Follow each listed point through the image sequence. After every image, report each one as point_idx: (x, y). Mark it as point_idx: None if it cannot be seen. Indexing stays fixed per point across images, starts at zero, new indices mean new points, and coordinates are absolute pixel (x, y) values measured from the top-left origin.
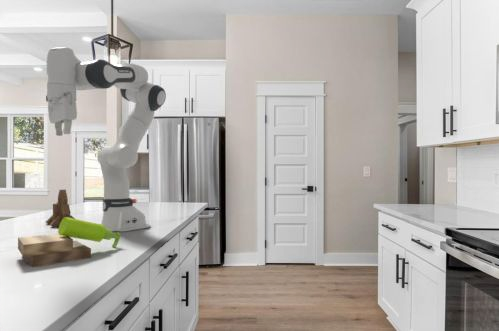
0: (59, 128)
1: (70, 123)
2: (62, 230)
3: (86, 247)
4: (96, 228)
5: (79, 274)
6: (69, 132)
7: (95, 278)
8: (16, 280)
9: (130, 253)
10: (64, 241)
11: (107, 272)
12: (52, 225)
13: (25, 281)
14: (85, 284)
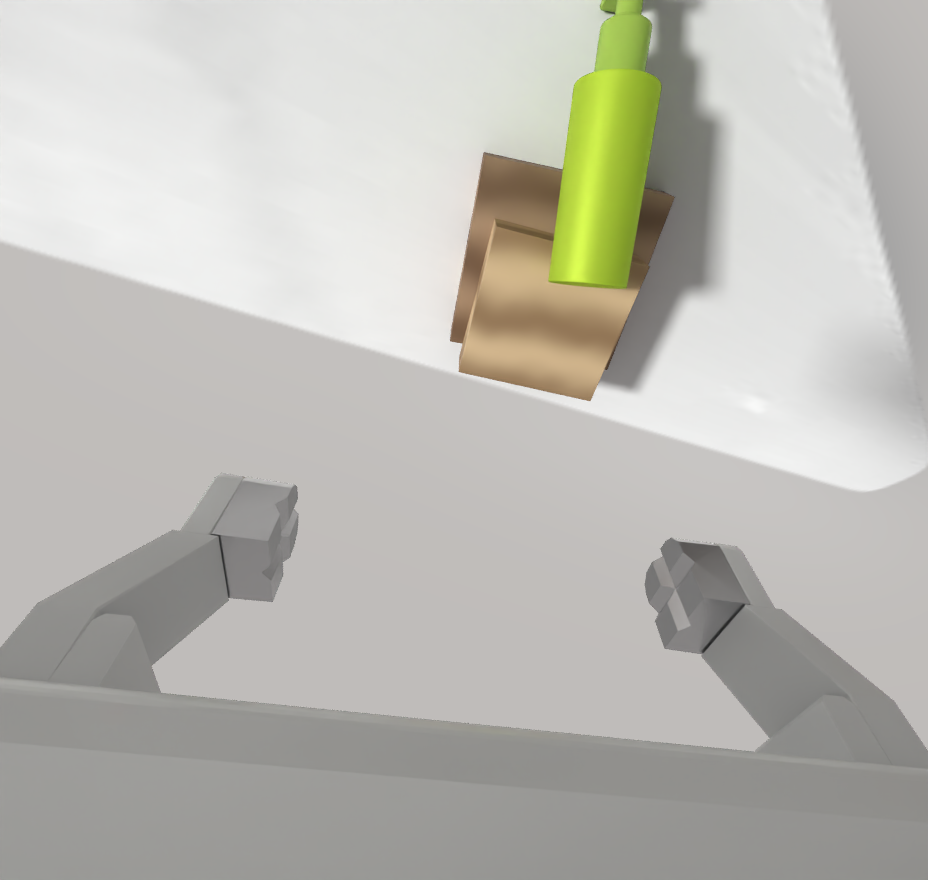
0: (176, 597)
1: (874, 709)
2: (589, 284)
3: (643, 198)
4: (651, 140)
5: (783, 314)
6: (736, 565)
7: (853, 305)
8: (675, 417)
9: (770, 31)
10: (635, 293)
11: (851, 256)
12: None
13: (700, 409)
14: (859, 343)
